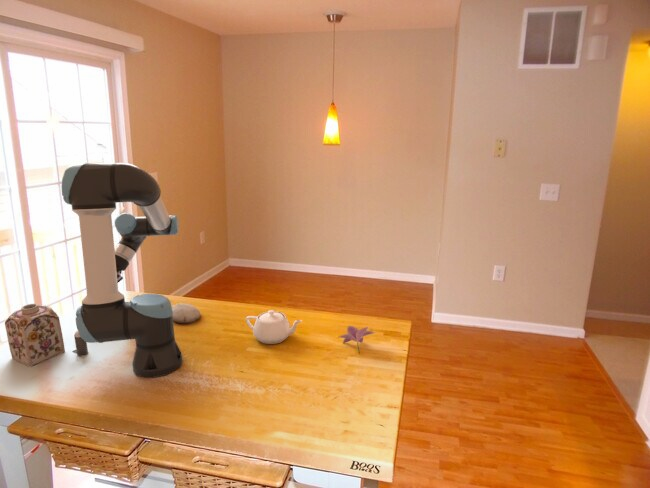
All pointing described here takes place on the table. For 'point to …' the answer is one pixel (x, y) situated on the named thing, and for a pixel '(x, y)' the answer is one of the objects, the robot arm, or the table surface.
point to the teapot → (271, 327)
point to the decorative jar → (34, 334)
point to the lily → (355, 334)
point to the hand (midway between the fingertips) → (85, 312)
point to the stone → (185, 313)
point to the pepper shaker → (80, 345)
